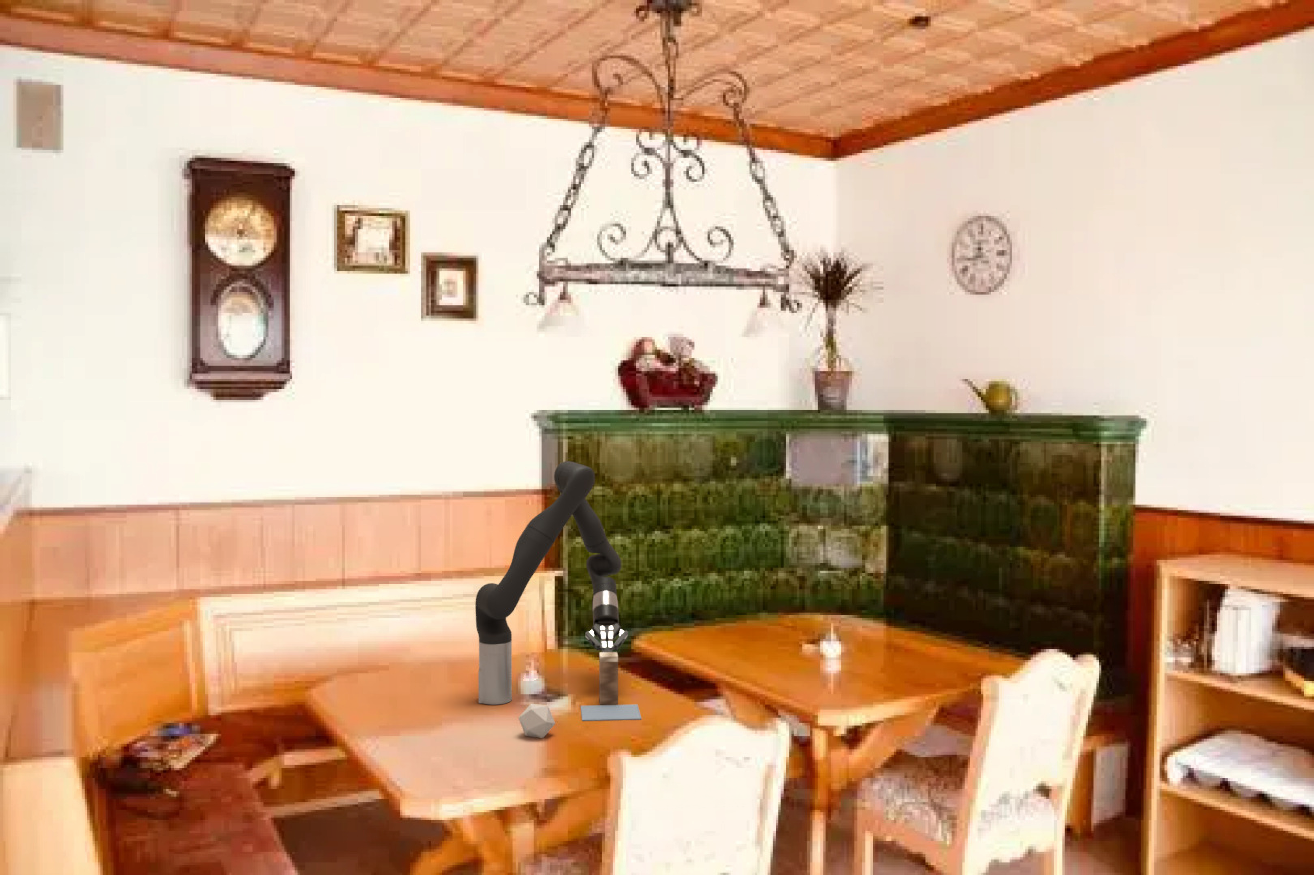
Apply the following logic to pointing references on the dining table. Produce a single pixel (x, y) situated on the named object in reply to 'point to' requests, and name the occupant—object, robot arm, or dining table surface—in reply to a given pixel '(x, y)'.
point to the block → (608, 678)
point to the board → (610, 712)
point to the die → (536, 720)
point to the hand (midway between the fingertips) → (607, 661)
